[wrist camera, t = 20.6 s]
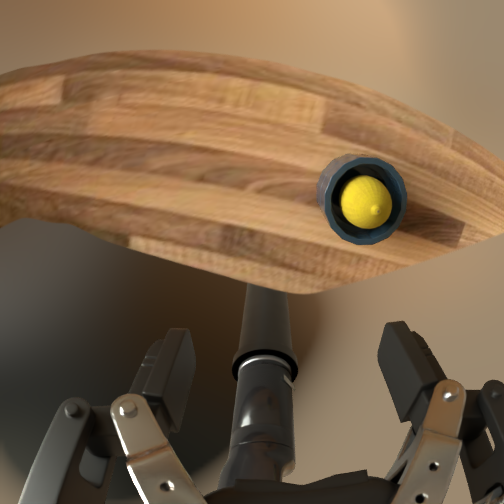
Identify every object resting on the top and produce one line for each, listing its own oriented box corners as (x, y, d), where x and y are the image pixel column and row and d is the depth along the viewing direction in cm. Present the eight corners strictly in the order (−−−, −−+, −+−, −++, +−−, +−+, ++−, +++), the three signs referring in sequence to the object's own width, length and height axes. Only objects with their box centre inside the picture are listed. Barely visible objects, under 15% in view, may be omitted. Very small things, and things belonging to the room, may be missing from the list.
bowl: (369, 238, 34) (384, 256, 29) (304, 212, 34) (310, 227, 29) (398, 172, 31) (419, 180, 26) (332, 140, 30) (345, 142, 25)
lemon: (358, 224, 33) (380, 249, 26) (323, 199, 32) (339, 218, 25) (383, 188, 31) (413, 205, 24) (349, 161, 30) (373, 170, 23)
